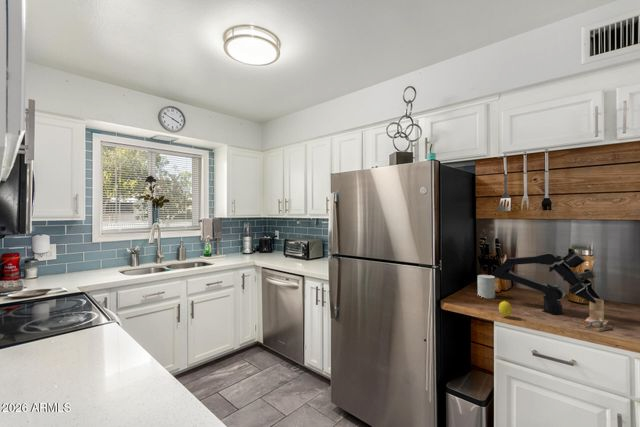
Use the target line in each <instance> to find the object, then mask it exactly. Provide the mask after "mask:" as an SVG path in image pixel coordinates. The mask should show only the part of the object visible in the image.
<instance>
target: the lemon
mask: <svg viewBox="0 0 640 427" xmlns="http://www.w3.org/2000/svg"><path fill="white" fill-rule="evenodd" d="M498 311H499V314H501V315H502V316H503V317H504V318H507V317H509V316H510V315H511V314H512V312H513V308H512V305H511V304H510V303H509V302H508V301H506V300H503V301H501V302H500V303H499V304H498Z"/></svg>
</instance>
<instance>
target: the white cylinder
mask: <svg viewBox="0 0 640 427" xmlns="http://www.w3.org/2000/svg"><path fill="white" fill-rule="evenodd" d="M478 295H479V296H481V297H480V298H482V297H484V298H483V299H495V298H496V277H495V275H490V274H489V275H488V274H478V275H477V296H478ZM479 296H478V297H479Z"/></svg>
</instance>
